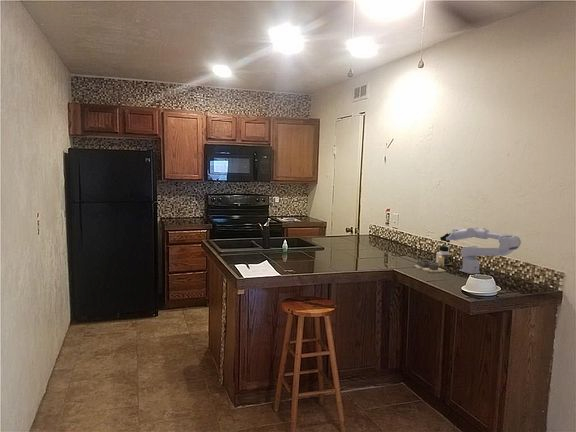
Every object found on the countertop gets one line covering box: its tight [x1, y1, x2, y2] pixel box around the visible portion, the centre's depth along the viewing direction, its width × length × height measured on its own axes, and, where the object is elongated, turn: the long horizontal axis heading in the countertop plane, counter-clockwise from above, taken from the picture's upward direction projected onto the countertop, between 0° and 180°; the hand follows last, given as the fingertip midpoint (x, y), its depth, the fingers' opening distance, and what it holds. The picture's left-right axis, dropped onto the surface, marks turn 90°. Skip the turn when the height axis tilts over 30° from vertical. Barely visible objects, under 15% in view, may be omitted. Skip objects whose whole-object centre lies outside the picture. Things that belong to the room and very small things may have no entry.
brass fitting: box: [437, 256, 445, 269], centre depth 283 cm, size 4×4×7 cm
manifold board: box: [412, 259, 446, 274], centre depth 277 cm, size 17×11×4 cm, turn 20°
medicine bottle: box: [435, 245, 452, 266], centre depth 294 cm, size 7×7×12 cm
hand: (444, 237), depth 289 cm, fingers open, 7 cm apart
